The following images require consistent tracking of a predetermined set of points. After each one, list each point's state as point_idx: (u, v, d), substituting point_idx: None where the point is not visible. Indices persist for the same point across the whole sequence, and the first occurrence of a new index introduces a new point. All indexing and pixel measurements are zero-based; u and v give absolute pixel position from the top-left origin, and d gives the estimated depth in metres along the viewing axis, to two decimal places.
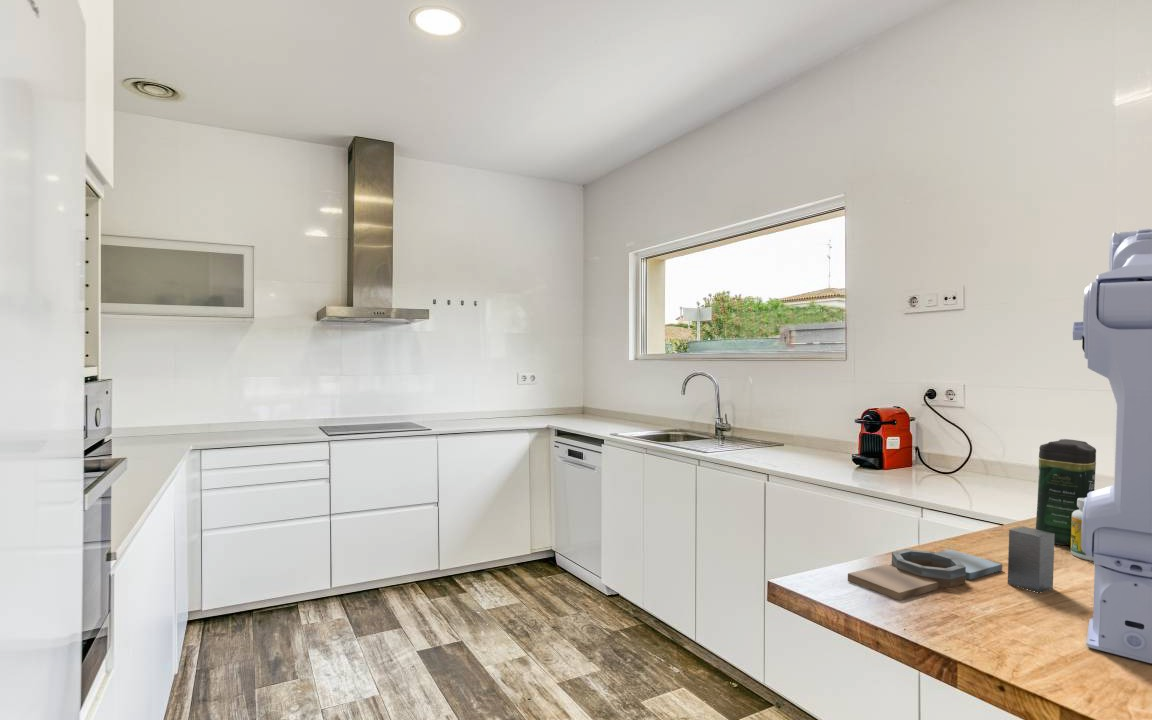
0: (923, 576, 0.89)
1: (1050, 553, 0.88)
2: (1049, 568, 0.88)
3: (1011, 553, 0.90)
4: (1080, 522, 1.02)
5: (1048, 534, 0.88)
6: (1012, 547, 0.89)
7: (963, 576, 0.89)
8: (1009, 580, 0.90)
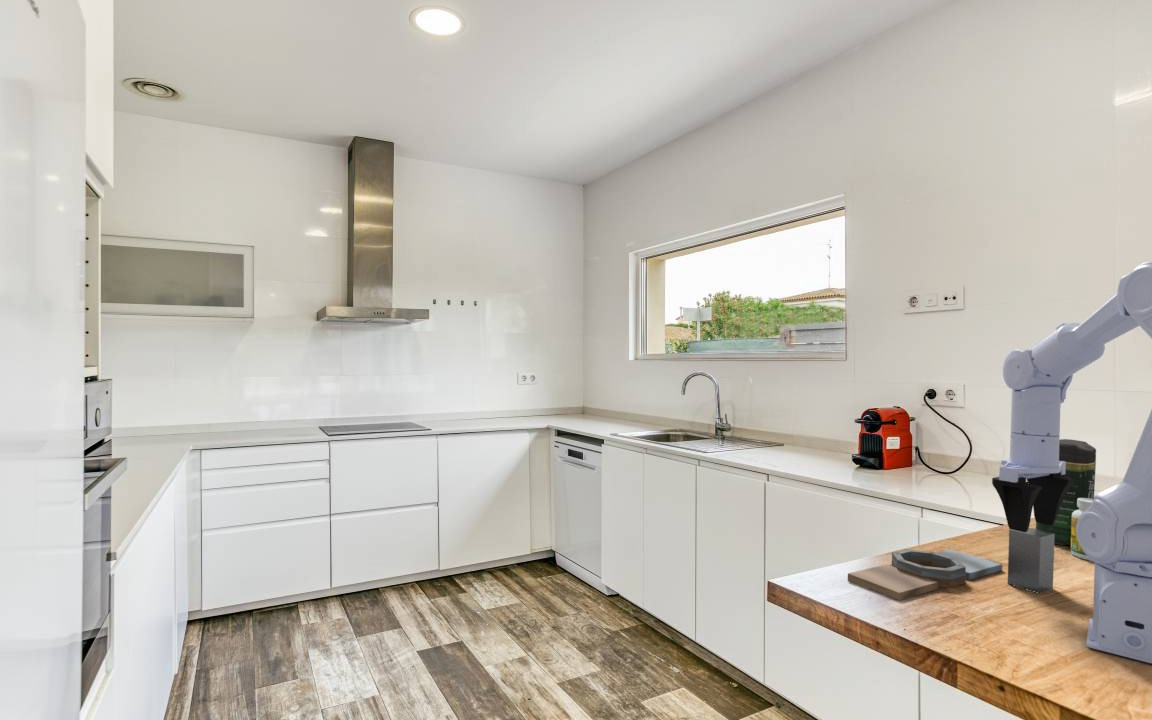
0: (923, 576, 0.89)
1: (1050, 553, 0.88)
2: (1049, 568, 0.88)
3: (1011, 553, 0.90)
4: None
5: (1048, 534, 0.88)
6: (1012, 547, 0.89)
7: (963, 576, 0.89)
8: (1009, 580, 0.90)
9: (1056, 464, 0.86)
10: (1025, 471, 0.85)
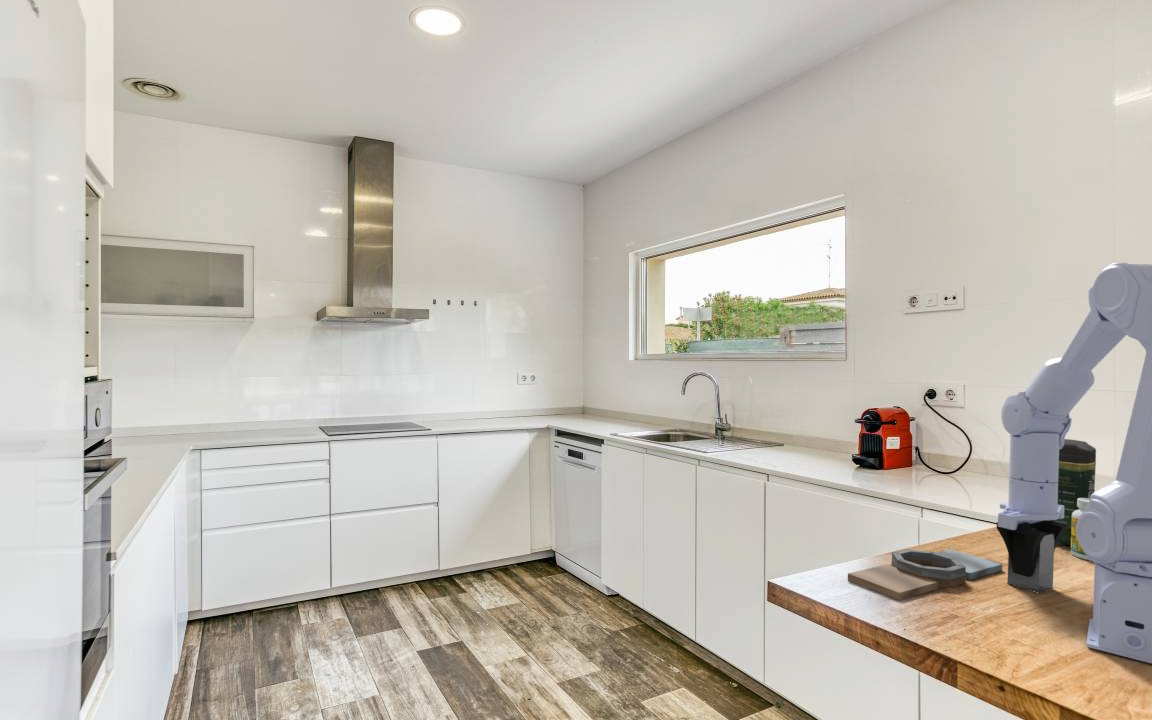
0: (923, 576, 0.89)
1: (1050, 553, 0.88)
2: (1049, 568, 0.88)
3: None
4: None
5: (1048, 534, 0.88)
6: None
7: (963, 576, 0.89)
8: (1009, 580, 0.90)
9: (1055, 511, 0.87)
10: (1023, 519, 0.85)
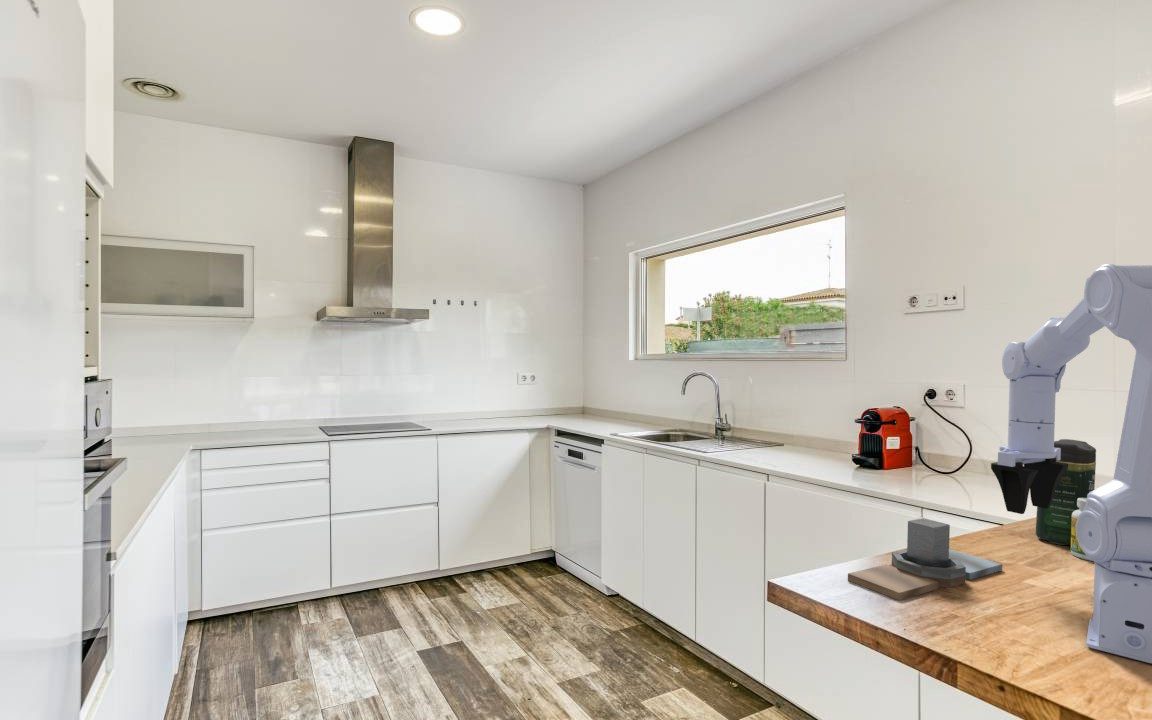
0: (923, 576, 0.89)
1: (945, 543, 0.91)
2: (944, 558, 0.91)
3: (909, 543, 0.93)
4: None
5: (943, 525, 0.91)
6: (910, 537, 0.93)
7: (963, 576, 0.89)
8: None
9: (1051, 450, 0.92)
10: (1021, 456, 0.90)
